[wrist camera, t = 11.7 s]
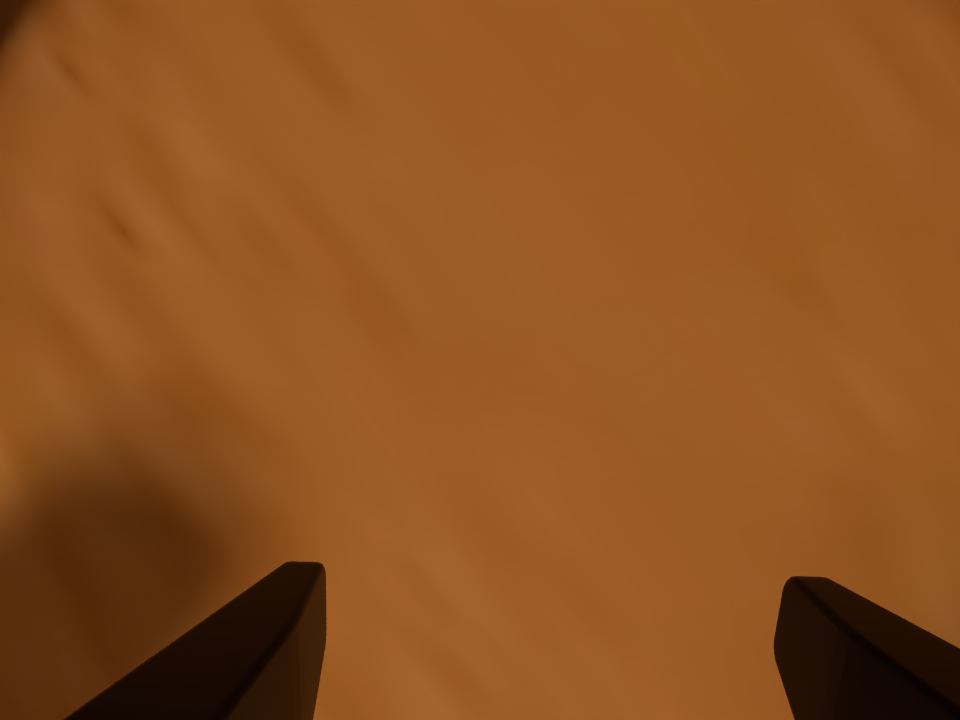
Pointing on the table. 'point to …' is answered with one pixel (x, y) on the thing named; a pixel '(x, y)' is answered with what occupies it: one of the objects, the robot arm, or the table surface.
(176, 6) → the table surface
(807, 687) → the robot arm
